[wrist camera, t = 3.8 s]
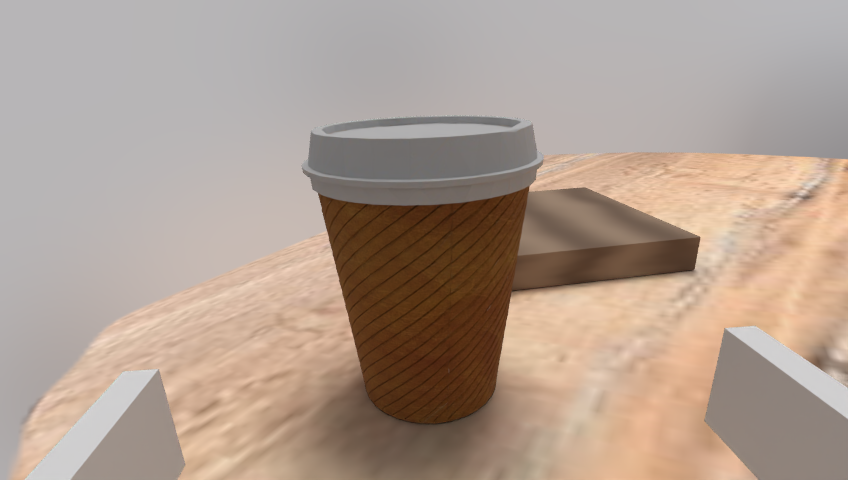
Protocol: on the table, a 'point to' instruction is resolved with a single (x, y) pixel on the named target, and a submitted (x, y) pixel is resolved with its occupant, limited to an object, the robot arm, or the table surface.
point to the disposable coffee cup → (426, 250)
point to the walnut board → (595, 241)
